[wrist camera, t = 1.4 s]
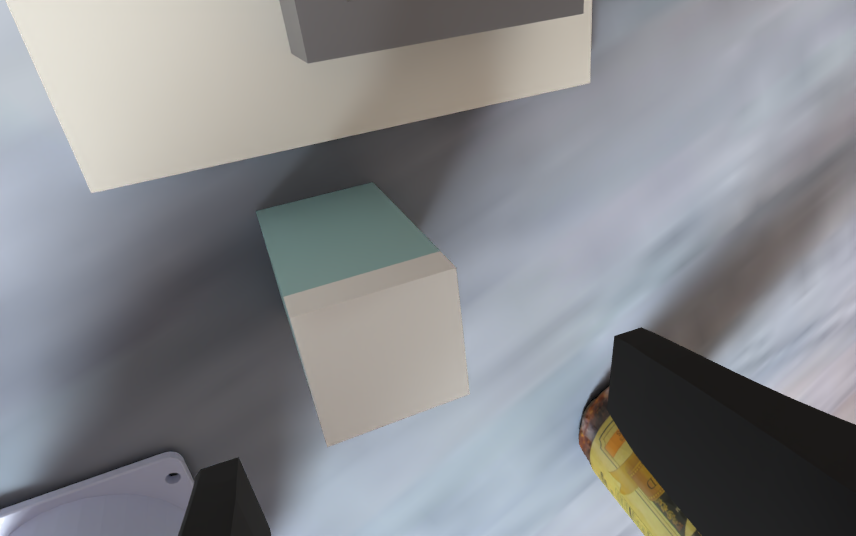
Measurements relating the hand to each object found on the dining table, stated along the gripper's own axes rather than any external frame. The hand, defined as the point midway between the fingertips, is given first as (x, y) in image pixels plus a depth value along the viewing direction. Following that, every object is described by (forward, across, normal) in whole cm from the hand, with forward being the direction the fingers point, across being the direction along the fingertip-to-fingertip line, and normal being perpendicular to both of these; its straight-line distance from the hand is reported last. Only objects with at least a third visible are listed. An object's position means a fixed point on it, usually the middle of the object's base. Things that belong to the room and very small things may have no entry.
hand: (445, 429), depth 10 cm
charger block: (+10, +1, +1) cm, 11 cm away
